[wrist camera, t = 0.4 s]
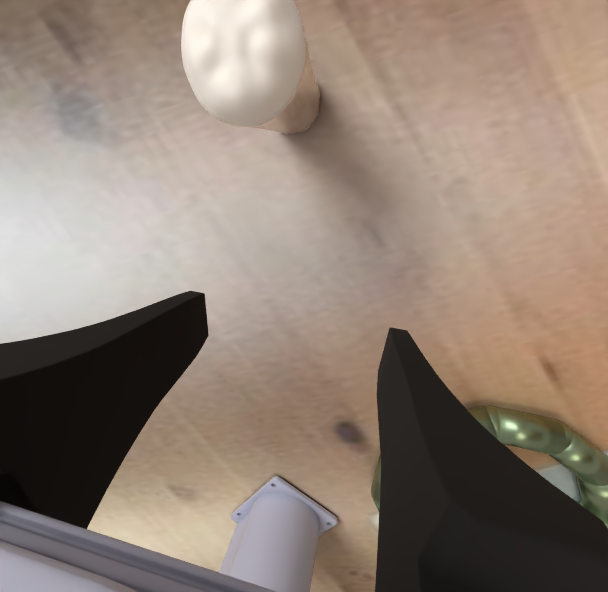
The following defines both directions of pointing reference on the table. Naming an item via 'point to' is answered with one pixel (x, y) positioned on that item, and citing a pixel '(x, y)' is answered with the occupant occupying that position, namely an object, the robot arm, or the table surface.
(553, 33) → the table surface
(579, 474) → the hoop
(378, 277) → the table surface
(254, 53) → the milkshake
